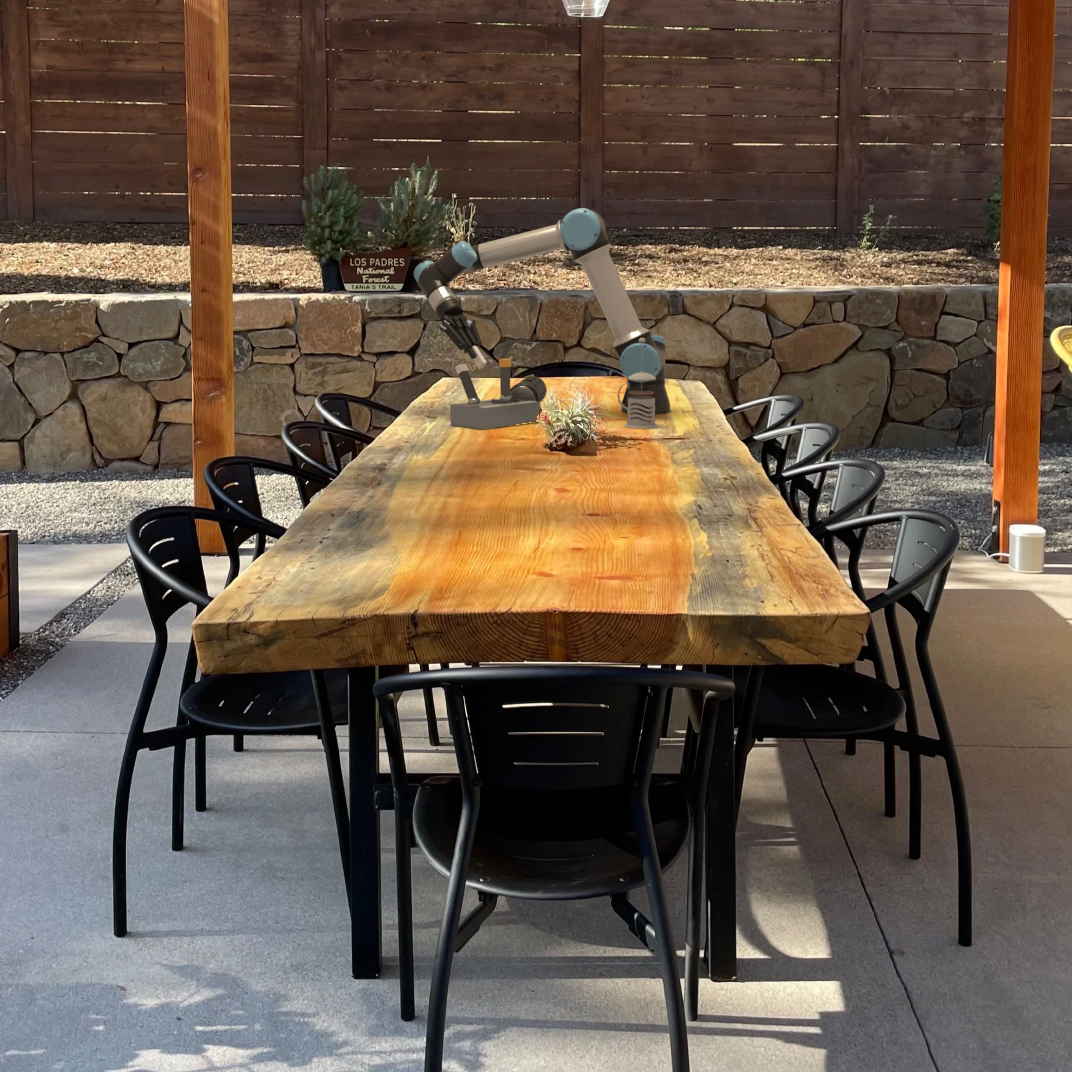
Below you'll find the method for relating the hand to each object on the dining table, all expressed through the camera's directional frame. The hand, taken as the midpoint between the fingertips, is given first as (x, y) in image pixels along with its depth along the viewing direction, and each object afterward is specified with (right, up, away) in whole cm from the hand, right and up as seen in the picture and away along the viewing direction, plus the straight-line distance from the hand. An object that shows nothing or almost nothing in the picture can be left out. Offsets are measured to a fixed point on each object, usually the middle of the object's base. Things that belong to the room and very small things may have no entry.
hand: (482, 365), depth 399 cm
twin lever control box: (+4, -18, -6) cm, 19 cm away
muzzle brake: (+13, -12, +20) cm, 27 cm away
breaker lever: (+7, -10, -5) cm, 13 cm away
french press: (+45, -19, -12) cm, 50 cm away
